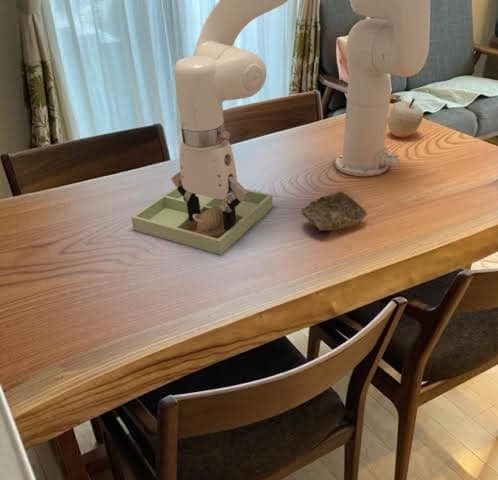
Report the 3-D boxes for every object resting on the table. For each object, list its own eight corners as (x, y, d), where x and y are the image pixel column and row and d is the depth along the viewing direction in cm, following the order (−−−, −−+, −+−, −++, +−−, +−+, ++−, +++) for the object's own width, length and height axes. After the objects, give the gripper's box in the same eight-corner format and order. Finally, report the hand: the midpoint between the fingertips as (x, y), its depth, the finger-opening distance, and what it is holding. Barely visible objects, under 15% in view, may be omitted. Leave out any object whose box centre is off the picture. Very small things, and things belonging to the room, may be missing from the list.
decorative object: (380, 132, 148) (385, 94, 141) (409, 128, 149) (415, 91, 143) (394, 144, 141) (400, 105, 135) (425, 140, 142) (432, 101, 136)
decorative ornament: (233, 229, 108) (232, 204, 105) (199, 243, 104) (196, 218, 101) (221, 221, 110) (219, 197, 107) (187, 235, 106) (184, 211, 103)
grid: (272, 207, 116) (272, 194, 114) (220, 254, 102) (219, 241, 100) (191, 188, 124) (190, 176, 122) (133, 229, 110) (131, 216, 109)
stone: (328, 238, 102) (312, 198, 101) (305, 247, 109) (290, 210, 108) (374, 218, 107) (359, 180, 107) (349, 228, 114) (335, 192, 114)
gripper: (256, 134, 94) (259, 223, 105) (175, 120, 101) (187, 205, 112) (234, 150, 89) (240, 241, 100) (151, 134, 96) (165, 221, 107)
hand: (212, 221), depth 106 cm, fingers open, 7 cm apart
